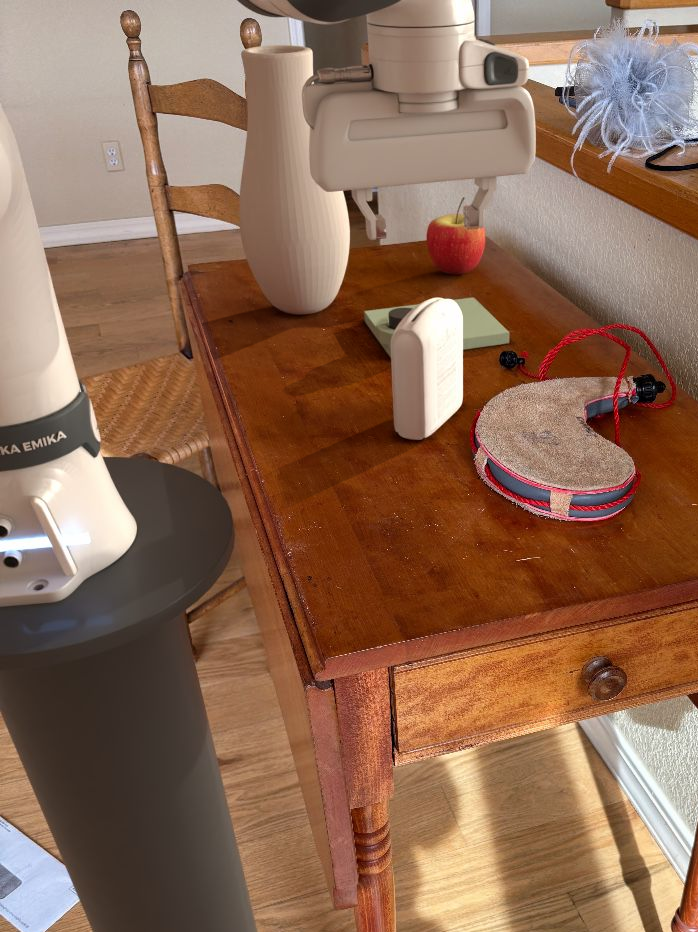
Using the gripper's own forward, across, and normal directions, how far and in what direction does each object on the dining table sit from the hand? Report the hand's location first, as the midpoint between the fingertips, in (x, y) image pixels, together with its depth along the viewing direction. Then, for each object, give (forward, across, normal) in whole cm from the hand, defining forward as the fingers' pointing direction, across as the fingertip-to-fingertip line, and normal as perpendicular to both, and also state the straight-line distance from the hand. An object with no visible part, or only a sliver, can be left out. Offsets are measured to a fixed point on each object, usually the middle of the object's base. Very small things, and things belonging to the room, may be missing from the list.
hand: (425, 232), depth 86 cm
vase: (+19, -6, +37) cm, 42 cm away
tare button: (+16, +3, +19) cm, 26 cm away
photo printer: (+19, 0, 0) cm, 19 cm away
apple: (+19, +18, +44) cm, 51 cm away
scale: (+19, +8, +23) cm, 31 cm away
